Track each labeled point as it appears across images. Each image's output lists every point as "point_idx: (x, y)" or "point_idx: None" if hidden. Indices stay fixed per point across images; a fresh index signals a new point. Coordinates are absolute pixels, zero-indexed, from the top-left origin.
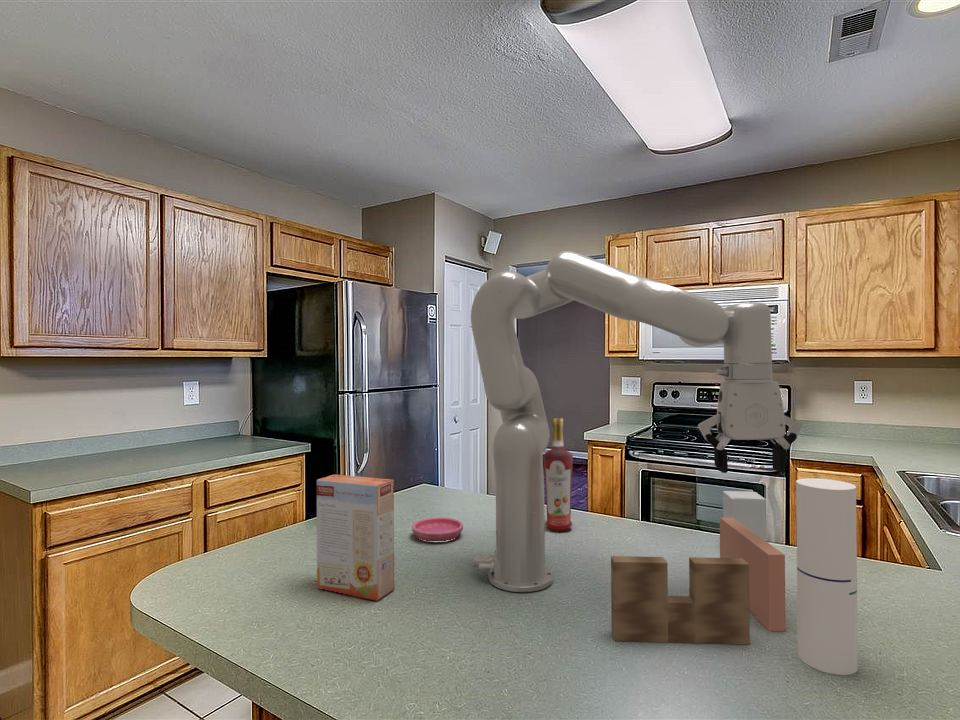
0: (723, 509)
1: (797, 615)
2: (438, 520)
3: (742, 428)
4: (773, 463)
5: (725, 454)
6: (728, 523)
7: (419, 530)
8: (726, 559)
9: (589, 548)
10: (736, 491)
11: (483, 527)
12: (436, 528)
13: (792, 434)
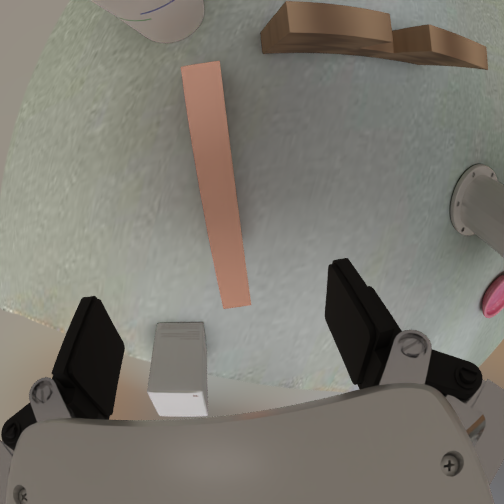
0: (207, 390)
1: (200, 3)
2: (493, 312)
3: (356, 481)
4: (118, 357)
5: (375, 313)
6: (244, 270)
7: None
8: (326, 24)
9: (385, 303)
10: (187, 415)
11: (458, 325)
12: (493, 303)
13: (11, 441)
